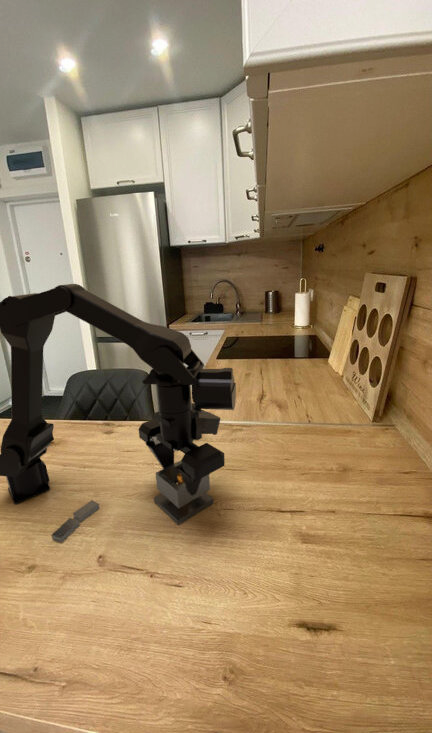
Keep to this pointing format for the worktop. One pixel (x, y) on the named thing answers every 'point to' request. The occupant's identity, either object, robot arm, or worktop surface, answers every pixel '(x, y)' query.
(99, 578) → the worktop surface
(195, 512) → the keeper
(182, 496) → the hollow square frame
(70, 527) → the wood sided gray block
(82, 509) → the grey topped wooden tile
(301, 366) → the worktop surface
